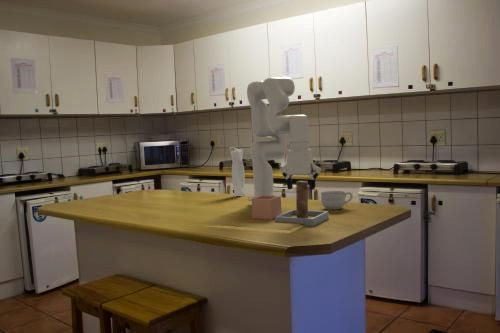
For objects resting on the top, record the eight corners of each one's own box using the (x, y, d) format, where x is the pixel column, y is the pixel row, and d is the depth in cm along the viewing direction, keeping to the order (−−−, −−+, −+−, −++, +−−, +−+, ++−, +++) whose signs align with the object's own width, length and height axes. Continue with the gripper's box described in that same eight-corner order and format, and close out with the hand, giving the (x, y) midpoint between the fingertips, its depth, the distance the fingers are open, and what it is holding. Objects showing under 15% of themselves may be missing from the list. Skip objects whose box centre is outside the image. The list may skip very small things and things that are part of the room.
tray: (275, 223, 186) (275, 216, 186) (292, 216, 200) (292, 209, 200) (313, 226, 178) (313, 219, 178) (328, 218, 192) (328, 211, 192)
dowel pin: (294, 219, 189) (294, 182, 187) (299, 217, 192) (299, 180, 191) (305, 220, 186) (304, 182, 185) (309, 218, 190) (309, 181, 189)
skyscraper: (233, 197, 263) (230, 147, 261) (230, 195, 270) (227, 146, 268) (247, 196, 265) (244, 146, 263) (243, 194, 272) (241, 146, 270)
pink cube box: (252, 220, 196) (251, 198, 195) (263, 216, 204) (261, 195, 203) (271, 221, 191) (270, 199, 191) (281, 217, 199) (280, 196, 198)
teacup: (318, 210, 211) (317, 192, 210) (325, 206, 220) (325, 189, 220) (348, 211, 204) (348, 193, 204) (355, 207, 214) (354, 189, 213)
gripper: (275, 147, 188) (277, 190, 189) (316, 146, 179) (317, 191, 181) (283, 146, 194) (285, 187, 196) (323, 145, 186) (325, 188, 187)
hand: (301, 189), depth 188 cm, fingers open, 9 cm apart
